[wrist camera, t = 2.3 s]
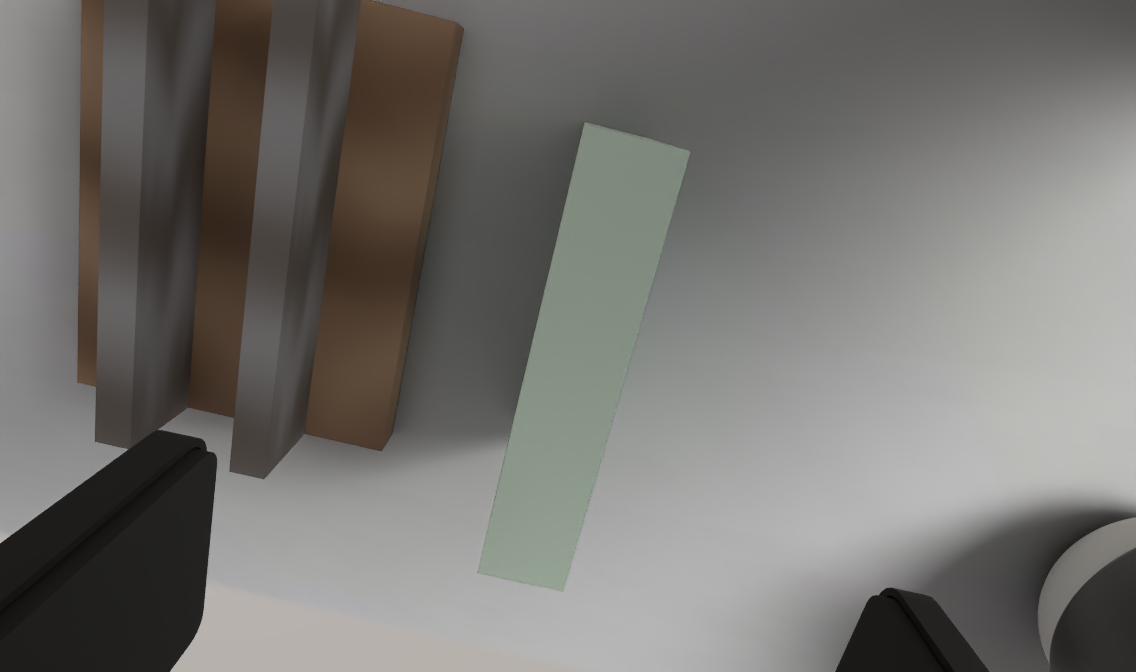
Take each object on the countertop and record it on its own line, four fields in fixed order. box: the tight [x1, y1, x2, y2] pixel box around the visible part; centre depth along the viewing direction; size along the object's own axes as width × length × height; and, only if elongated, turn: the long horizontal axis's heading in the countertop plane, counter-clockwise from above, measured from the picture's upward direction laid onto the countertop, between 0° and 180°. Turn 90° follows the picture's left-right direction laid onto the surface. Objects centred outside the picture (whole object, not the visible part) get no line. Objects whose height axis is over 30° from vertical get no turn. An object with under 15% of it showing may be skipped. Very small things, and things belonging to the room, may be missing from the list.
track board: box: [78, 0, 464, 479], centre depth 23 cm, size 16×12×5 cm
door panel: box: [478, 122, 691, 592], centre depth 21 cm, size 12×2×10 cm, turn 166°
